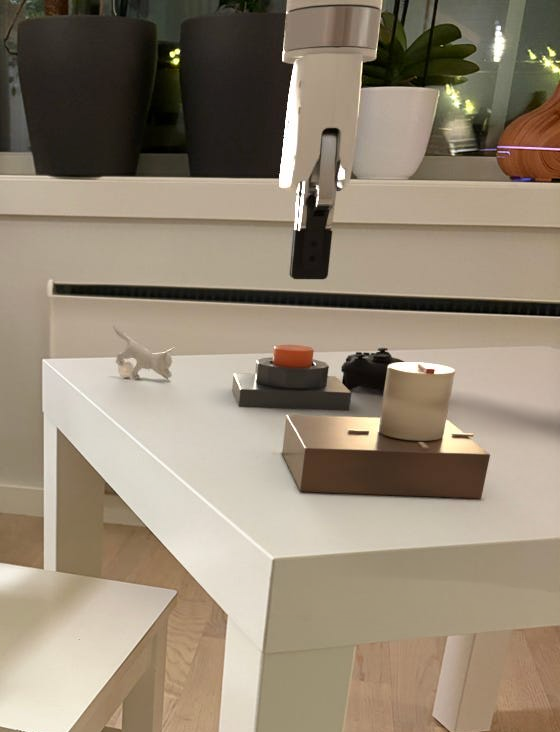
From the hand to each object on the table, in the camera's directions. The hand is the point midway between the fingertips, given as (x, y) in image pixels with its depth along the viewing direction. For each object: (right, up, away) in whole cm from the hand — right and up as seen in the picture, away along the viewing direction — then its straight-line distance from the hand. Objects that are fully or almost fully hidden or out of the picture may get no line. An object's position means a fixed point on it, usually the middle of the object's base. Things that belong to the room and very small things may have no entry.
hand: (308, 277), depth 87 cm
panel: (+1, -21, -18) cm, 27 cm away
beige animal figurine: (-14, -6, +13) cm, 20 cm away
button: (-1, -7, +4) cm, 8 cm away
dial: (+3, -18, -19) cm, 26 cm away
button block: (-1, -10, +5) cm, 11 cm away
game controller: (+10, -7, +12) cm, 17 cm away
